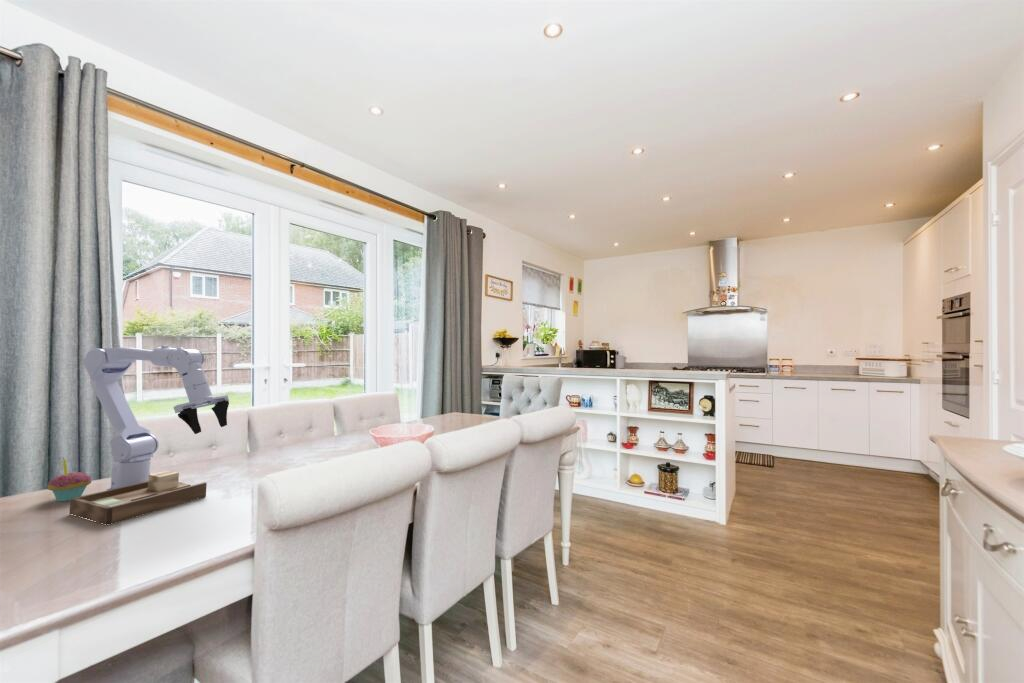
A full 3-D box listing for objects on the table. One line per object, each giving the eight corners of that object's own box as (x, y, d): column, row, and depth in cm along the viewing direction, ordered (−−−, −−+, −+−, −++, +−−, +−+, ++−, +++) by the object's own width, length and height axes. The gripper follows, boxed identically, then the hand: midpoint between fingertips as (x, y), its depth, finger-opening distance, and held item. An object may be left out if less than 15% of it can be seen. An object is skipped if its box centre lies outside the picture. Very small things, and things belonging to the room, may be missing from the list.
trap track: (69, 514, 106) (70, 498, 106) (170, 488, 128) (171, 475, 128) (106, 525, 101) (107, 508, 101) (205, 496, 122) (206, 482, 122)
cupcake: (67, 504, 113) (69, 459, 113) (36, 503, 113) (39, 458, 113) (99, 494, 121) (101, 452, 122) (70, 493, 122) (73, 451, 122)
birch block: (147, 488, 120) (148, 474, 120) (167, 483, 125) (168, 470, 125) (158, 491, 118) (159, 476, 118) (178, 486, 123) (178, 472, 123)
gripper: (178, 387, 118) (193, 432, 117) (228, 378, 131) (242, 419, 131) (164, 394, 120) (179, 439, 120) (215, 386, 134) (228, 425, 133)
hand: (211, 429), depth 125 cm, fingers open, 7 cm apart
